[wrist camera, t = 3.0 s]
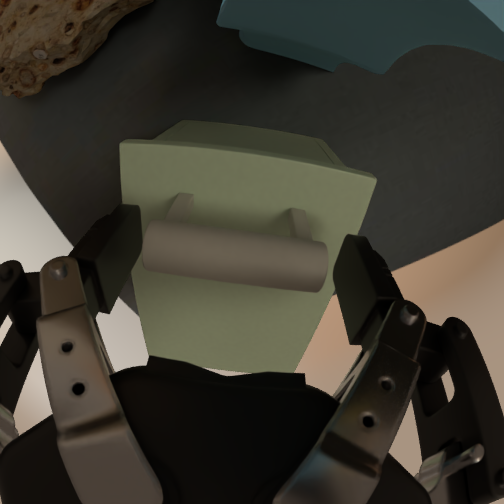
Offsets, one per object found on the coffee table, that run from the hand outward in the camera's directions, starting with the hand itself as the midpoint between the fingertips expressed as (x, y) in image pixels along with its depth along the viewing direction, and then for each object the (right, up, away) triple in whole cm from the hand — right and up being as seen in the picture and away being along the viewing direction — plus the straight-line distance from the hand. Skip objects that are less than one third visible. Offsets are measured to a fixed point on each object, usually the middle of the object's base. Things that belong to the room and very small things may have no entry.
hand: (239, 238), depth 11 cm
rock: (-13, +22, +2) cm, 26 cm away
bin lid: (-1, -3, +6) cm, 7 cm away
